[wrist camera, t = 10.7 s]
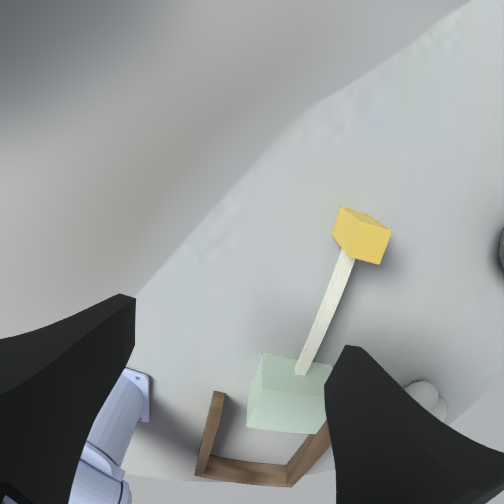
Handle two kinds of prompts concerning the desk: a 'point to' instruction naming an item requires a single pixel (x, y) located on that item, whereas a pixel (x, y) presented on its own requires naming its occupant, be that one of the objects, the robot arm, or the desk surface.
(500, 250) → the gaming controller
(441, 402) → the smooth white sculpture
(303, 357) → the tethered block
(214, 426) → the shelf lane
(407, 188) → the desk surface
